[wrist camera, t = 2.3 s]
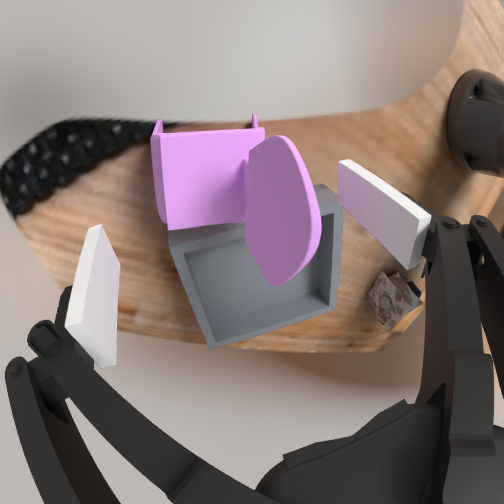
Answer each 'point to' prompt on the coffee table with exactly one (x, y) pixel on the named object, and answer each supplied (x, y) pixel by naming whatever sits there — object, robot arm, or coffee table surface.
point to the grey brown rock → (393, 298)
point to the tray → (254, 278)
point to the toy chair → (240, 192)
